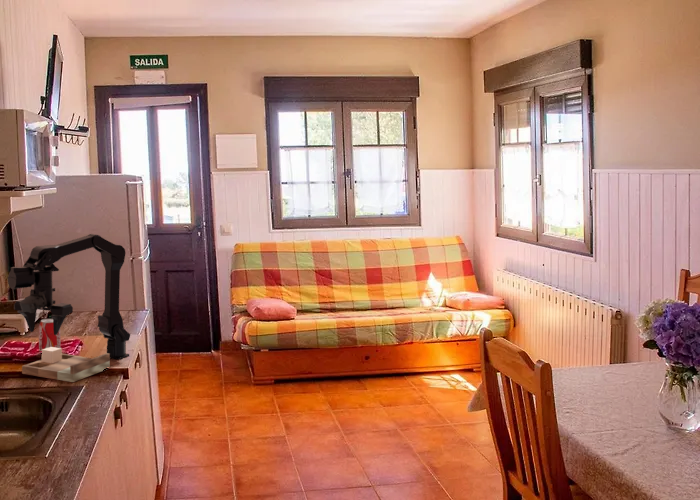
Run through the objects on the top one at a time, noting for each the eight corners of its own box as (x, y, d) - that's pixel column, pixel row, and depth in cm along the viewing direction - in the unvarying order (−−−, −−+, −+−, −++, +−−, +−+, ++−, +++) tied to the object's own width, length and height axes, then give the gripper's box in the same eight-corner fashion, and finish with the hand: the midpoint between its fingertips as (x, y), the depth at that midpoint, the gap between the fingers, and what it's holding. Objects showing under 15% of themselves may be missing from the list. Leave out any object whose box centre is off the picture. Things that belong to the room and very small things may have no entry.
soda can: (53, 357, 279) (53, 323, 277) (34, 355, 280) (34, 321, 279) (64, 352, 286) (64, 319, 284) (46, 350, 287) (46, 317, 285)
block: (51, 358, 268) (50, 346, 267) (61, 360, 266) (61, 348, 266) (41, 361, 264) (41, 349, 263) (52, 363, 262) (52, 351, 262)
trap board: (60, 360, 275) (60, 346, 274) (109, 368, 268) (109, 353, 267) (22, 373, 258) (21, 358, 258) (73, 382, 251) (72, 366, 251)
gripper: (1, 287, 255) (2, 335, 257) (50, 292, 249) (51, 341, 251) (25, 281, 265) (26, 328, 268) (73, 286, 260) (74, 334, 262)
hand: (43, 333), depth 262 cm, fingers open, 9 cm apart
